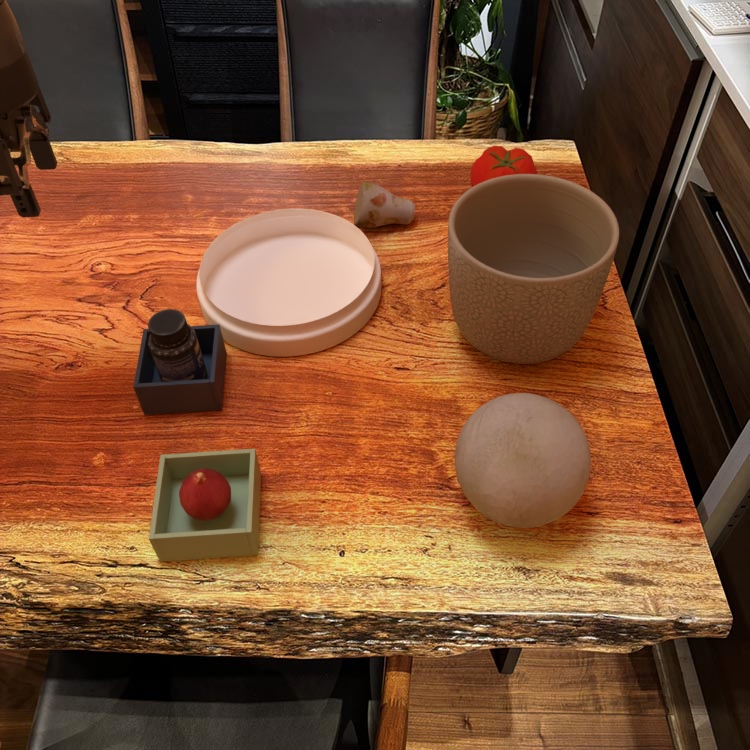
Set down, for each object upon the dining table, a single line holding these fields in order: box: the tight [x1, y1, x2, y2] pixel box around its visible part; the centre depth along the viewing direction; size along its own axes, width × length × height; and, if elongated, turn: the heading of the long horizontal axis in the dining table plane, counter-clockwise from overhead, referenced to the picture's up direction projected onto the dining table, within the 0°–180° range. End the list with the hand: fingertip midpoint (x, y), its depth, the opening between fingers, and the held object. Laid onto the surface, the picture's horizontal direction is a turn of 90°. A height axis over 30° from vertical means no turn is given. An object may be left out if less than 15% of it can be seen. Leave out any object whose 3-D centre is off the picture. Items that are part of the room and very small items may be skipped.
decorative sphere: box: [454, 392, 592, 529], centre depth 90 cm, size 15×15×15 cm
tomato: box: [470, 145, 539, 188], centre depth 131 cm, size 11×11×8 cm
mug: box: [353, 181, 416, 229], centre depth 128 cm, size 8×10×10 cm
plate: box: [195, 207, 382, 358], centre depth 118 cm, size 27×27×6 cm
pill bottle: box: [147, 308, 207, 382], centre depth 104 cm, size 6×6×11 cm
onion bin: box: [148, 448, 262, 563], centre depth 93 cm, size 11×11×5 cm
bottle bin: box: [132, 324, 228, 416], centre depth 106 cm, size 10×10×6 cm
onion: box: [179, 468, 231, 521], centre depth 91 cm, size 6×6×8 cm
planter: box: [447, 173, 620, 365], centre depth 106 cm, size 21×21×19 cm
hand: (39, 190), depth 89 cm, fingers open, 8 cm apart
